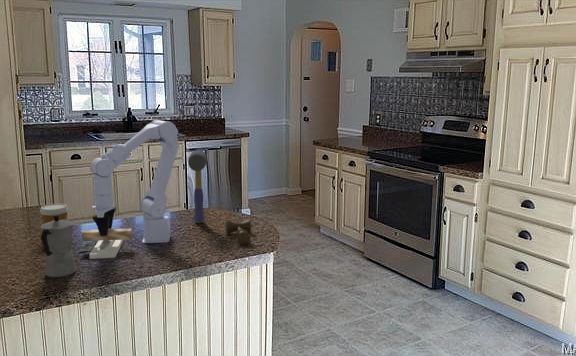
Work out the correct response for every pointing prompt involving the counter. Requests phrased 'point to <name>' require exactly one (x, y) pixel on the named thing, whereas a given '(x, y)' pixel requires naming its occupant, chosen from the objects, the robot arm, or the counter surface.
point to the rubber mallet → (198, 182)
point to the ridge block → (106, 249)
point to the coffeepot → (58, 247)
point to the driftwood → (87, 246)
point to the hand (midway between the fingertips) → (106, 232)
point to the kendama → (239, 230)
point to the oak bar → (112, 235)
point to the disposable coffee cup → (53, 212)
